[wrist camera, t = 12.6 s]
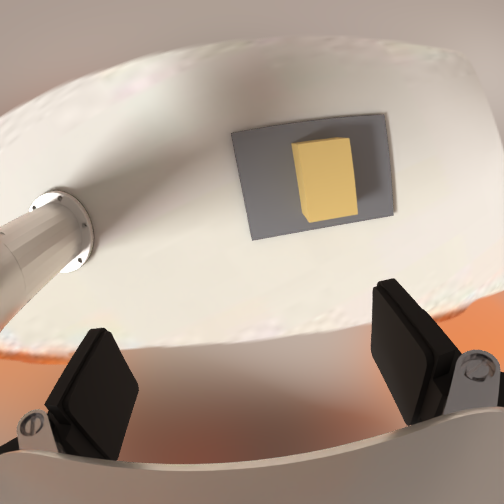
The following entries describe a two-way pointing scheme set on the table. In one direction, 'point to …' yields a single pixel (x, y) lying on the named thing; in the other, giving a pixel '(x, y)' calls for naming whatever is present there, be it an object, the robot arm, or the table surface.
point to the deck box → (325, 178)
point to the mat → (285, 179)
